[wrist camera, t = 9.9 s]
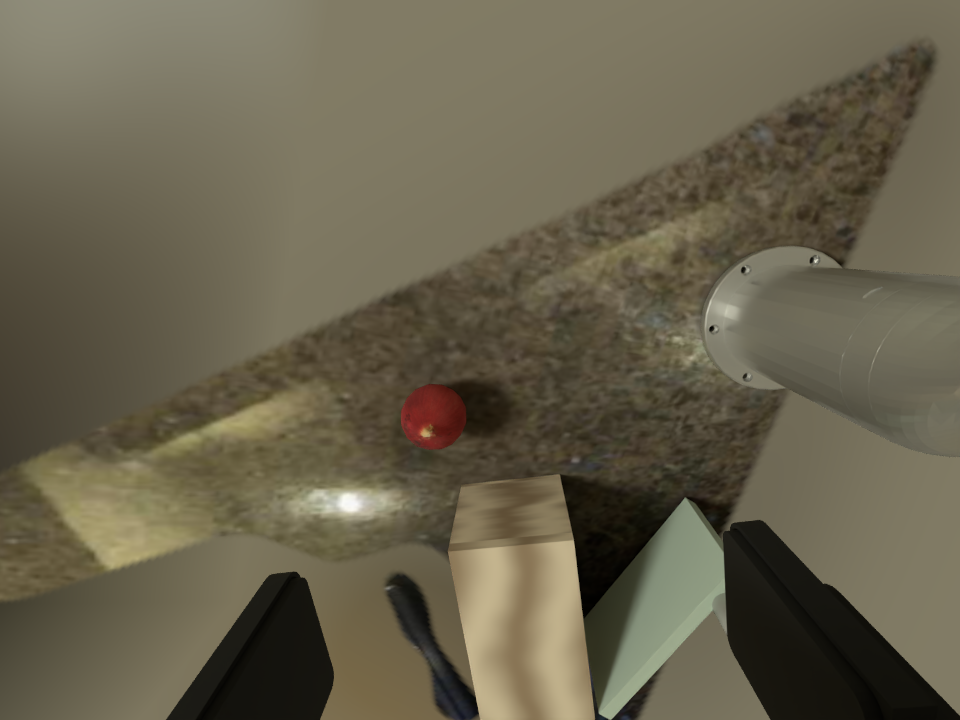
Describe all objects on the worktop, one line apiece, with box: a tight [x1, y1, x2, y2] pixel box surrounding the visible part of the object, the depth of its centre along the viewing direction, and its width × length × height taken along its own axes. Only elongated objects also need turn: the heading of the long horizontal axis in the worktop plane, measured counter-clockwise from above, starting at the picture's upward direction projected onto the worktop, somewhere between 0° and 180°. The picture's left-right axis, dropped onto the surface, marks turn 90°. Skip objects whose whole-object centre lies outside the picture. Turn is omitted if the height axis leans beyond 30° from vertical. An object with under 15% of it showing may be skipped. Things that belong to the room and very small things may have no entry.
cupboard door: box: [583, 498, 727, 720], centre depth 38 cm, size 3×18×18 cm, turn 149°
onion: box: [401, 384, 466, 450], centre depth 41 cm, size 6×6×8 cm
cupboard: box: [448, 474, 595, 720], centre depth 43 cm, size 10×18×10 cm, turn 9°
